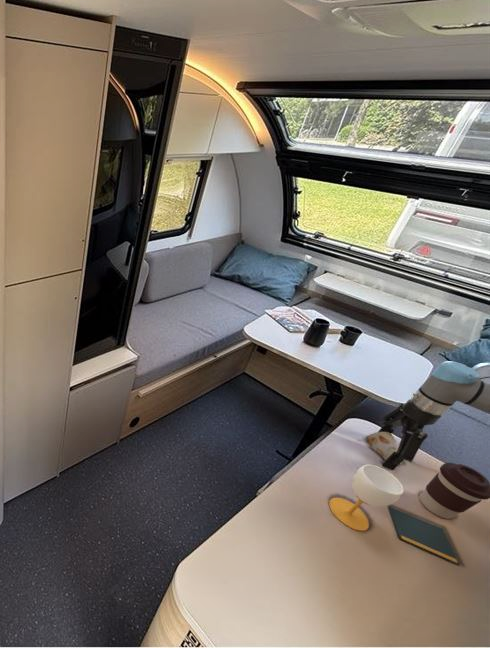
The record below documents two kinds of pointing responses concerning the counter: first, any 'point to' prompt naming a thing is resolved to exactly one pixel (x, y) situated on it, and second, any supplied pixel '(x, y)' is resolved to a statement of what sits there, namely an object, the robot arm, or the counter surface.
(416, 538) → the book
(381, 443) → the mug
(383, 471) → the cup
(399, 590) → the counter surface
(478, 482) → the coffee cup
